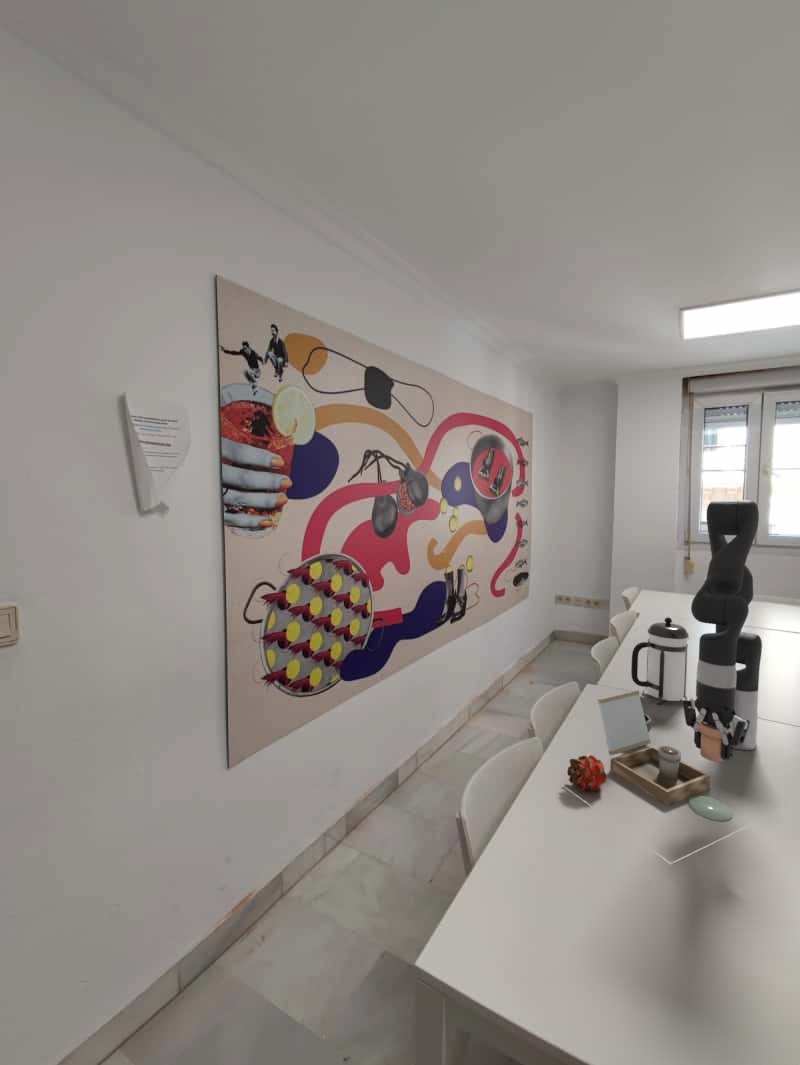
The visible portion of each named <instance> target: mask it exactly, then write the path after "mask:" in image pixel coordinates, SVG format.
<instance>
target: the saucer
mask: <svg viewBox="0 0 800 1065" xmlns="http://www.w3.org/2000/svg"><path fill="white" fill-rule="evenodd" d="M688 804H689V807H690V808H691V810H693V811H694V812H695V813H697V814H699V815H701V816H702V817H704V818H707V819H710V820H712V821H713V820H714V821H719V822H721V821H722V822H723V821H724V822H725V821H729V820H731V819H732V818H733V811H732V809H731V808H730V807H729V806H728V805H727V804H726V803H724V802H723V801H720V800H718V799H716V798H713V797H710V796H704V795H692V796H690V797H689V798H688Z"/></svg>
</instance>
